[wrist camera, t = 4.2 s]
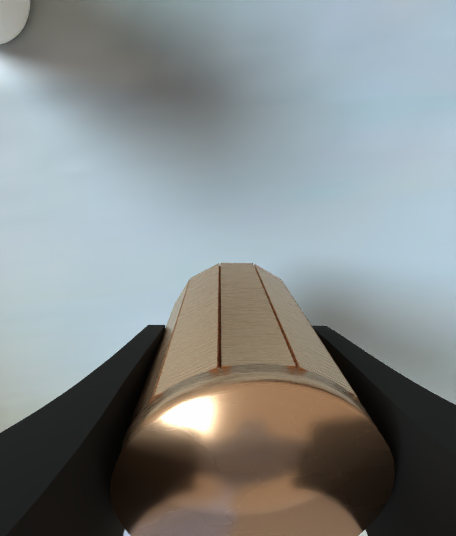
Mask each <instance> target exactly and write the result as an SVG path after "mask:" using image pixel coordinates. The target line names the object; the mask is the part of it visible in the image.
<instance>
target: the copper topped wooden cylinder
mask: <svg viewBox="0 0 456 536" xmlns="http://www.w3.org/2000/svg"><path fill="white" fill-rule="evenodd" d="M394 476H395V469H394V460H393V457H392V454H391V451H390V448H389V447H388V445H387V443H386V441H385V440H384V438H383V436H382V435H381V433H380V432H379V430H378V429H377V427H376V425H375V424H374V422H373V421H372V419H371V418H370V416H369V415H368V413H367V412H366V410H365V408H364V407H363V406H362V405H361V403H360V402H359V399H358V397H357V396H356V394H355V393H354V391H353V389H352V388H351V386H350V385H349V383H348V382H347V380H346V379H345V377H344V376H343V374H342V372H341V371H340V369H339V368H338V366H337V365H336V363H335V362H334V360H333V359H332V357H331V355H330V354H329V352H328V351H327V349H326V348H325V346H324V345H323V343H322V342H321V340H320V338H319V337H318V335H317V334H316V332H315V331H314V329H313V328H312V326H311V325H310V323H309V321H308V320H307V318H306V317H305V315H304V314H303V312H302V311H301V309H300V307H299V306H298V304H297V303H296V301H295V300H294V298H293V297H292V295H291V294H290V292H289V290H288V289H287V287H286V286H285V284H284V283H283V281H282V280H281V279H280V278H278V277H276V276H274V275H273V274H271V273H269V272H268V271H266V270H264V269H263V268H261V267H259V266H257V265H256V264H254V265H253V263H221V266H220V265H219V263H218V264H216V265H215V266H213V267H211V268H209V269H207V270H205V271H203V272H201V273H199V274H198V275H196V276H194V277H192V278H191V279H189V281H188V283H187V284H186V286H185V288H184V289H183V291H182V293H181V294H180V296H179V297H178V299H177V301H176V302H175V304H174V307H173V310H172V312H171V315H170V318H169V320H168V323H167V325H166V328H165V331H164V333H163V336H162V339H161V341H160V344H159V347H158V349H157V352H156V355H155V357H154V360H153V363H152V365H151V368H150V370H149V373H148V376H147V378H146V381H145V384H144V386H143V389H142V392H141V394H140V397H139V400H138V402H137V405H136V408H135V410H134V413H133V415H132V418H131V421H130V423H129V426H128V429H127V431H126V434H125V437H124V439H123V443H122V448H121V451H120V454H119V457H118V459H117V462H116V465H115V468H114V471H113V474H112V477H111V485H110V496H111V503H112V506H113V509H114V512H115V515H116V516H117V518H118V520H119V522H120V524H121V525H122V526H123V527H124V529H125V530H126V531H127V532H128V534H129V535H131V536H358V535H359V534H360V533H362V532H363V531H364V530H365V529H366V528H367V527H369V526H370V524H371V523H372V522H373V521H374V520H375V519H376V518H377V517H378V516H379V514H380V513H381V511H382V510H383V508H384V507H385V505H386V503H387V501H388V499H389V497H390V495H391V492H392V488H393V485H394Z"/></svg>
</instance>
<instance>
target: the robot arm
mask: <svg viewBox="0 0 456 536" xmlns="http://www.w3.org/2000/svg"><path fill="white" fill-rule="evenodd" d="M312 328H313V329H314V331H315V332H316V334H317V335H318V337H319V338H320V340H321V342H322V343H323V345H324V346H325V348H326V349H327V351H328V352H329V354H330V355H331V357H332V359H333V360H334V362H335V363H336V365H337V366H338V368H339V369H340V371H341V372H342V374H343V376H344V377H345V379H346V380H347V382H348V383H349V385H350V386H351V388H352V389H353V391H354V393H355V394H356V396H357V397H358V399H359V402H360V403H361V405H362V406H363V407H364V408H365V410H366V412H367V413H368V415H369V416H370V418H371V419H372V421H373V422H374V424H375V425H376V427H377V429H378V430H379V432H380V433H381V435H382V436H383V438H384V440H385V441H386V443H387V445H388V447H389V448H390V451H391V454H392V457H393V460H394V469H395V476H394V485H393V488H392V492H391V495H390V497H389V499H388V501H387V503H386V505H385V507H384V508H383V510H382V511H381V513H380V514H379V516H378V517H377V518H376V519H375V520H374V521H373V522H372V523H371V524H370V526H369V527H367V528H366V532H367V535H368V536H456V405H454V404H453V403H451V402H449V401H447V400H445V399H443V398H441V397H439V396H438V395H436V394H434V393H432V392H430V391H428V390H427V389H425V388H423V387H421V386H420V385H418V384H416V383H414V382H413V381H411V380H409V379H408V378H406V377H404V376H403V375H401V374H400V373H398V372H396V371H395V370H393V369H391V368H390V367H388V366H387V365H385V364H383V363H382V362H380V361H379V360H377V359H376V358H374V357H373V356H371V355H370V354H368V353H367V352H365V351H364V350H362V349H361V348H359V347H358V346H356V345H355V344H353V343H352V342H350V341H349V340H347V339H346V338H344V337H343V336H341V335H340V334H338V333H337V332H335V331H334V330H332V329H330V328H329V327H327V326H312ZM164 331H165V325H148V326H147V327H146V328H144V329H143V330H142V331H141V332H140V333H139V334H138V335H136V336H135V337H134V338H133V339H132V340H131V341H130V342H128V343H127V344H126V345H125V346H124V347H123V348H121V349H120V350H119V351H118V352H117V353H116V354H114V355H113V356H112V357H111V358H110V359H108V360H107V361H106V362H105V363H103V364H102V365H101V366H99V367H98V368H97V369H96V370H94V371H93V372H92V373H90V374H89V375H88V376H87V377H85V378H84V379H83V380H81V381H80V382H79V383H77V384H76V385H75V386H73V387H72V388H70V389H69V390H68V391H66V392H65V393H63V394H62V395H60V396H59V397H57V398H56V399H54V400H53V401H51V402H50V403H48V404H47V405H45V406H44V407H42V408H41V409H39V410H38V411H36V412H35V413H33V414H31V415H30V416H28V417H26V418H25V419H23V420H21V421H20V422H18V423H16V424H15V425H13V426H11V427H10V428H8V429H6V430H5V431H3V432H1V433H0V536H131V535H129V534H128V532H127V531H126V530H125V529H124V527H123V526H122V525H121V524H120V522H119V520H118V518H117V516H116V515H115V512H114V509H113V506H112V503H111V496H110V485H111V477H112V474H113V471H114V468H115V465H116V462H117V459H118V457H119V454H120V451H121V448H122V443H123V439H124V437H125V434H126V431H127V429H128V426H129V423H130V421H131V418H132V415H133V413H134V410H135V408H136V405H137V402H138V400H139V397H140V394H141V392H142V389H143V386H144V384H145V381H146V378H147V376H148V373H149V370H150V368H151V365H152V363H153V360H154V357H155V355H156V352H157V349H158V347H159V344H160V341H161V339H162V336H163V333H164Z"/></svg>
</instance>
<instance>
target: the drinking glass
mask: <svg viewBox="0 0 456 536" xmlns="http://www.w3.org/2000/svg"><path fill="white" fill-rule="evenodd" d="M29 10H30V0H0V44H3V43H6V42H9V41H11V40H12V39H14V38H15V37H16V36H17V35H18V34H19V33H20V32H21V31H22V29H23V28H24V26H25V24H26V22H27V19H28V15H29Z"/></svg>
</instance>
